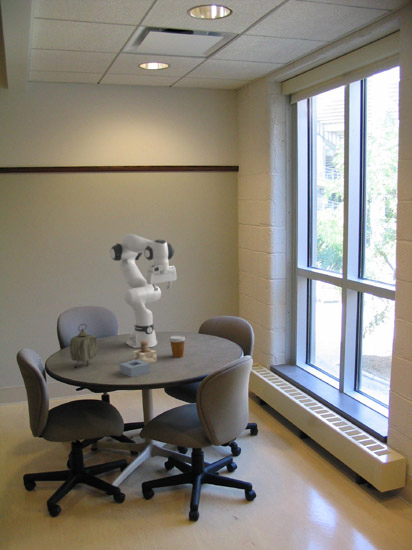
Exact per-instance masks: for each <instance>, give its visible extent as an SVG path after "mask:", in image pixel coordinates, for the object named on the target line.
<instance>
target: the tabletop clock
mask: <svg viewBox="0 0 412 550" xmlns="http://www.w3.org/2000/svg"><path fill="white" fill-rule="evenodd" d="M81 326H85V327H84V328H81ZM80 328H81V329H80ZM86 329H87V324H86V323H81V324H80V325H79V326H78V329H77V330H78V331H79V333H78V334H77V335H76V336H73V337H71V338H70V340H69V341H70V342H69V353H70V359H71V360H72V361H74V362H76V364H74V365H73V367H74V368H75V367H76V368H77V367H78V364H79V363H80V362H82V363H85V362H86V366H87V367H89V366H90V363H89V362H90V361H91V360H92V359H94V358H96V357H97V356H98V341H97V338H96V337H95V335H93V334H88V333H87V332H86ZM88 365H89V366H88Z"/></svg>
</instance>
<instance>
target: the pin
mask: <svg viewBox="0 0 412 550" xmlns="http://www.w3.org/2000/svg"><path fill="white" fill-rule="evenodd" d="M148 349H149V347H148V341H141V348H140V350H141V352H142V353H146V352H148Z"/></svg>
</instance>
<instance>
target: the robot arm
mask: <svg viewBox="0 0 412 550" xmlns="http://www.w3.org/2000/svg"><path fill="white" fill-rule="evenodd" d="M121 241H122V242H121V243H118V242H117V243H116V244H114V245H113V246H111V248H110V252H109V253H110V257H111V259H112V260H113V261H117V262H120V263H119V267H120V271H121V274H122V276H123V278H124V281H125V282H126V284H127V285H128V287H130V289H127V290H126V291H125V293H124V296H123V297H124V298H123V299H124V301H125V303H126V305H128V306H130V307H131V308H132V310H133V311H134V315H135V324H134V325H133V327H134V330H133V331H132V332H131V333H129V339H128V340H126V342H125V344H126V345H128V346H129V347H131V348H134V349H141V341H148V348H152V347H155V346H157V344H158V340H157V337H156V331H155V330H154V328H155V325H154V323H153V322H154V319H153V312H152V311H151V310H150V309H148V308H146V305H145V304H150V303H155V302H157V301H159V300H160V299H161V297H162V291H161V289H160V288H159V286H157V284H162V283H168V284H167V285H166V289H167V290H170V289H171V286H172V285H173V282H175V281H177V280H178V279H177V278H178V275H177V271H176V270H177V269H176V267H175V265H169V264H170V263H169V262H170V261H169V260H171V259H172V258H173V256H174V255H175V249H174V247H173V245H172V244H171V243H169V242H168V243H167V241H166V240H164V239H155V240H151V239H148V238H145V237H143V236H140V235H138V234H134V233H127V234H125V235H124V236H123V238H122V239H121ZM142 254H144V257H145V259H146V260H147V261H150V262H151V261H153V264H152V265H149V266H148V267H146V271H147V273H146V275H145V276H146V278H144V276H143V274H142V272H141V270H140V269H139V267H138V266H137V264H136V261H138V260H139V259H140V258H141V257H142Z"/></svg>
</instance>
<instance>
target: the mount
mask: <svg viewBox="0 0 412 550" xmlns="http://www.w3.org/2000/svg"><path fill="white" fill-rule="evenodd" d="M132 357H133V359H132V361H133V360H137V359H138V360H141V361H144V362H146V363H149V364H151V363H155V362H157V361H158V360H157V359H158V358H157V357H158V355H157V351H156V350H155V349H151V348H148V352H146V353H142V352H141V349H137V350H134V351H132Z"/></svg>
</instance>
